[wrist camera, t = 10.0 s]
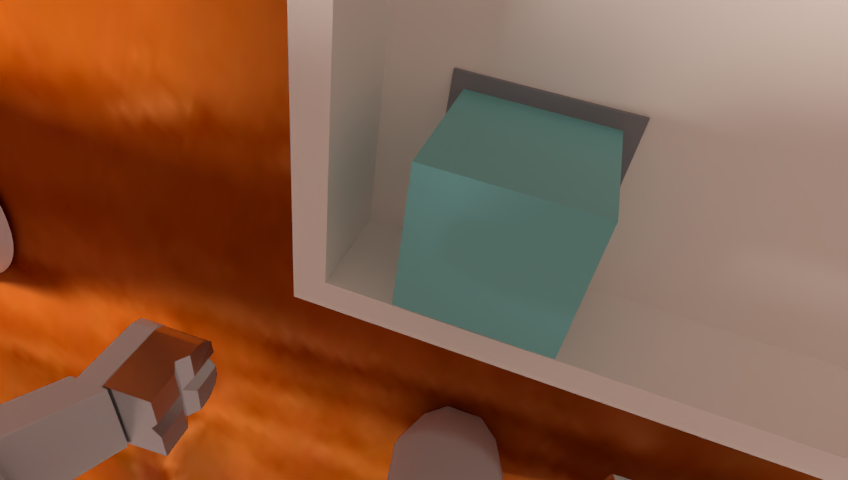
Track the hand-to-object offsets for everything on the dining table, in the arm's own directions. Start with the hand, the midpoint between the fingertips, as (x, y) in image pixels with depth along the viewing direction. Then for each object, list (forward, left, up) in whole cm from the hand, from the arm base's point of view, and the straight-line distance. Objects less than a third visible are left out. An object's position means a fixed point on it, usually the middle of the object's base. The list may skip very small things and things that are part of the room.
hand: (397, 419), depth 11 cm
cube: (+1, 0, -10) cm, 10 cm away
